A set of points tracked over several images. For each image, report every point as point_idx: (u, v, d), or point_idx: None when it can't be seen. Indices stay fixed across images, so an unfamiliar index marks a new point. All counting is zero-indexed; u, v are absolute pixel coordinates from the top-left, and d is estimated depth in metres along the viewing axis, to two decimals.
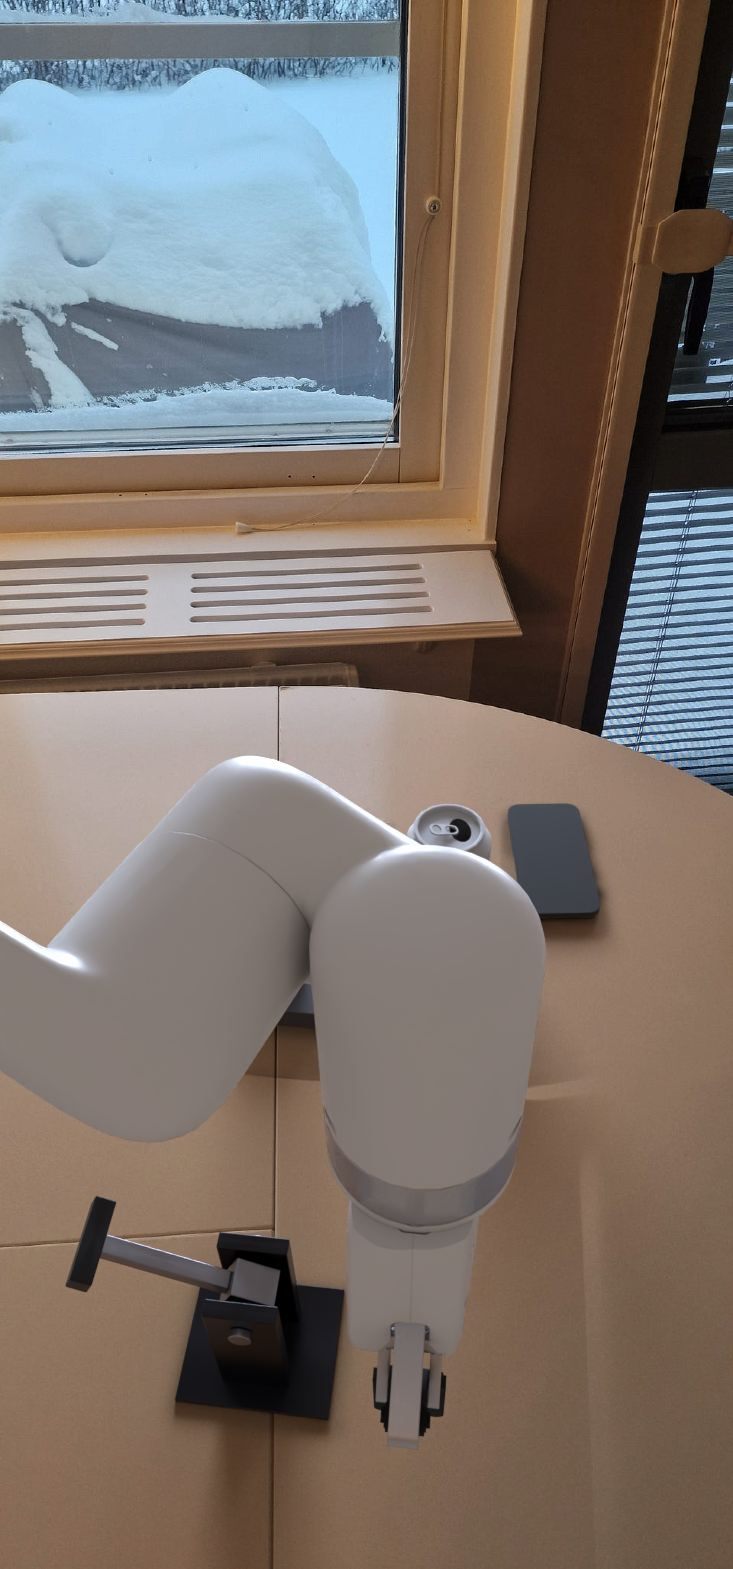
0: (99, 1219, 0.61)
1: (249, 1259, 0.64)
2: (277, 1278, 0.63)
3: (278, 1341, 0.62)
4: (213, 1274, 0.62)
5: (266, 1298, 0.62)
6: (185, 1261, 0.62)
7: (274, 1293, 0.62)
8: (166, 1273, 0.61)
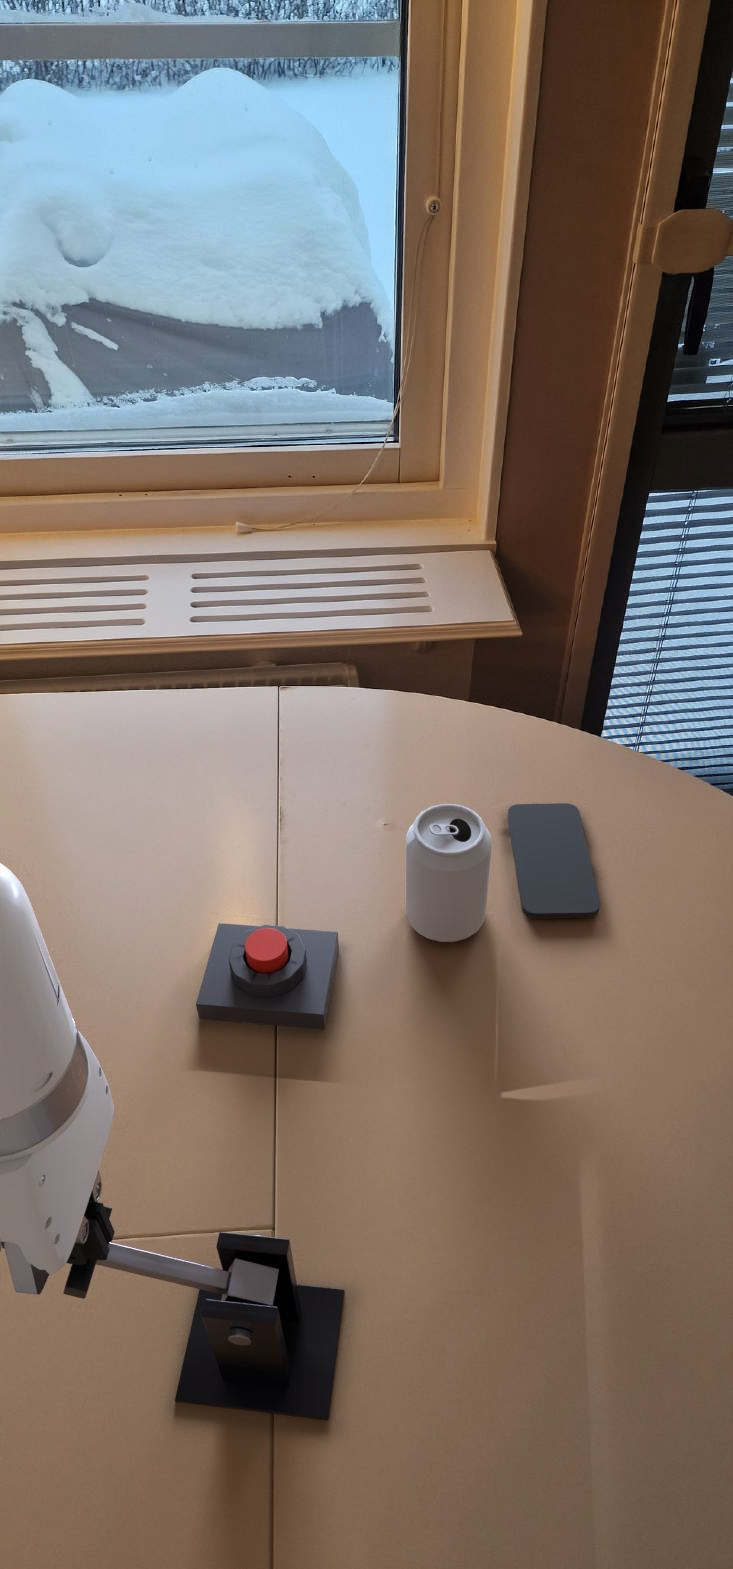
0: None
1: (249, 1259, 0.64)
2: (276, 1277, 0.63)
3: (278, 1341, 0.62)
4: (211, 1275, 0.62)
5: (264, 1297, 0.62)
6: (183, 1263, 0.62)
7: (273, 1292, 0.62)
8: (164, 1276, 0.62)
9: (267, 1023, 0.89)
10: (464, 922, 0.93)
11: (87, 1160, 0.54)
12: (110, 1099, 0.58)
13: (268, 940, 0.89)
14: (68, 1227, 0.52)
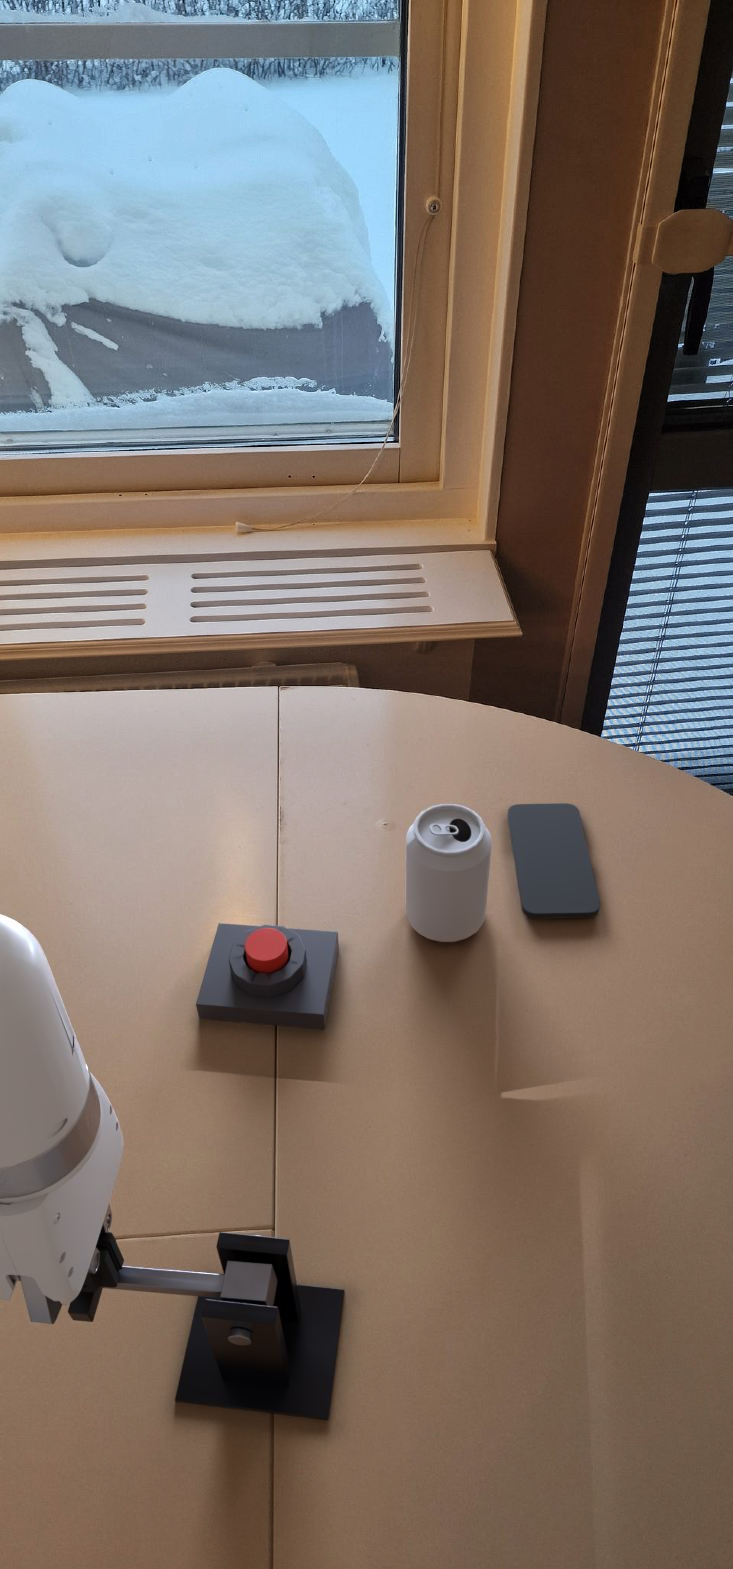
0: None
1: (249, 1259, 0.64)
2: (269, 1272, 0.62)
3: (278, 1341, 0.62)
4: (208, 1281, 0.63)
5: (257, 1294, 0.62)
6: (180, 1274, 0.63)
7: (265, 1287, 0.62)
8: (163, 1289, 0.63)
9: (267, 1023, 0.89)
10: (464, 922, 0.93)
11: (99, 1195, 0.56)
12: (120, 1134, 0.60)
13: (268, 940, 0.89)
14: (81, 1260, 0.55)
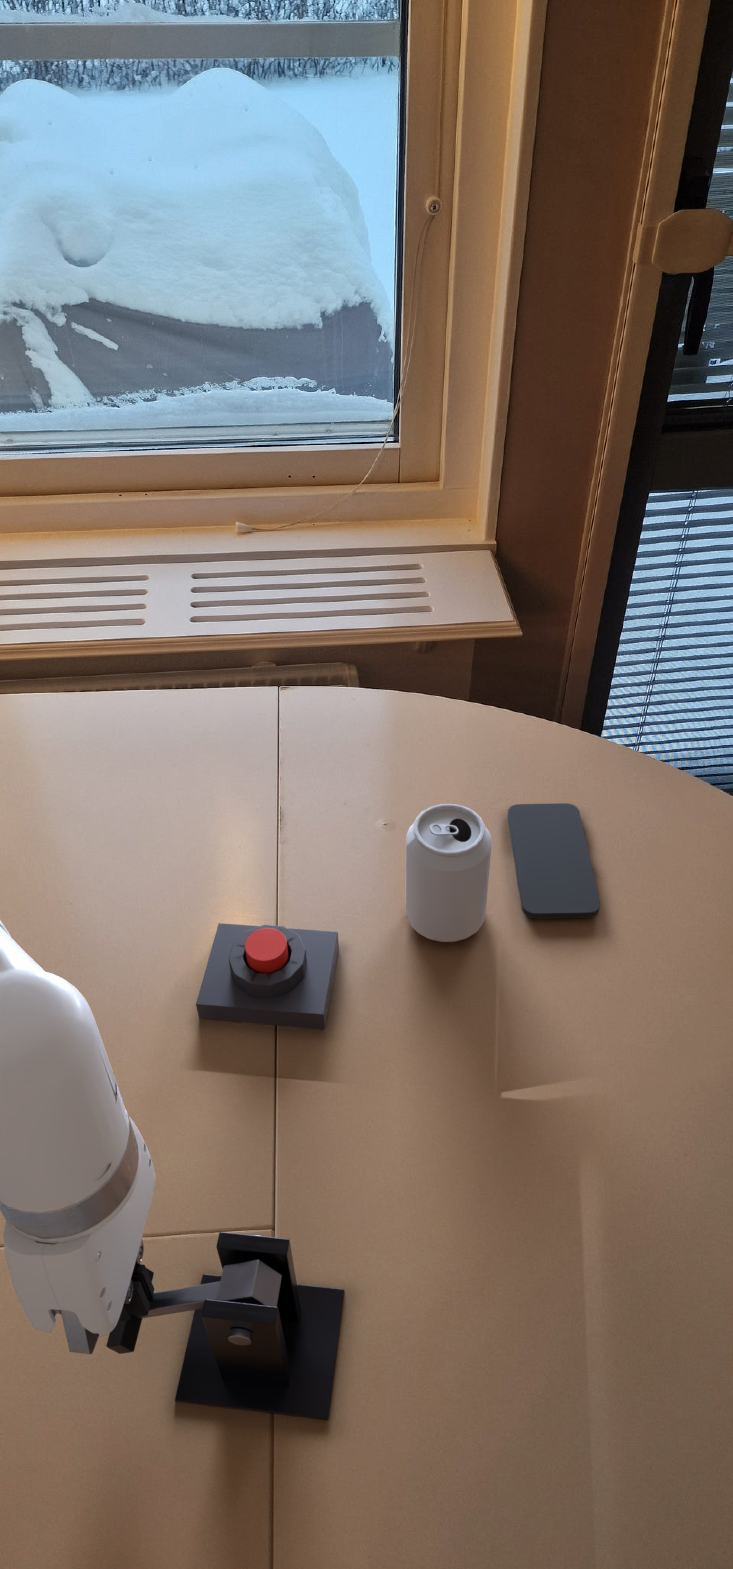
0: None
1: (249, 1259, 0.64)
2: (255, 1268, 0.62)
3: (278, 1341, 0.62)
4: (213, 1290, 0.64)
5: (245, 1291, 0.61)
6: (192, 1289, 0.65)
7: (252, 1283, 0.62)
8: (181, 1307, 0.65)
9: (267, 1023, 0.89)
10: (464, 922, 0.93)
11: (134, 1231, 0.59)
12: (152, 1170, 0.63)
13: (268, 940, 0.89)
14: (118, 1294, 0.57)
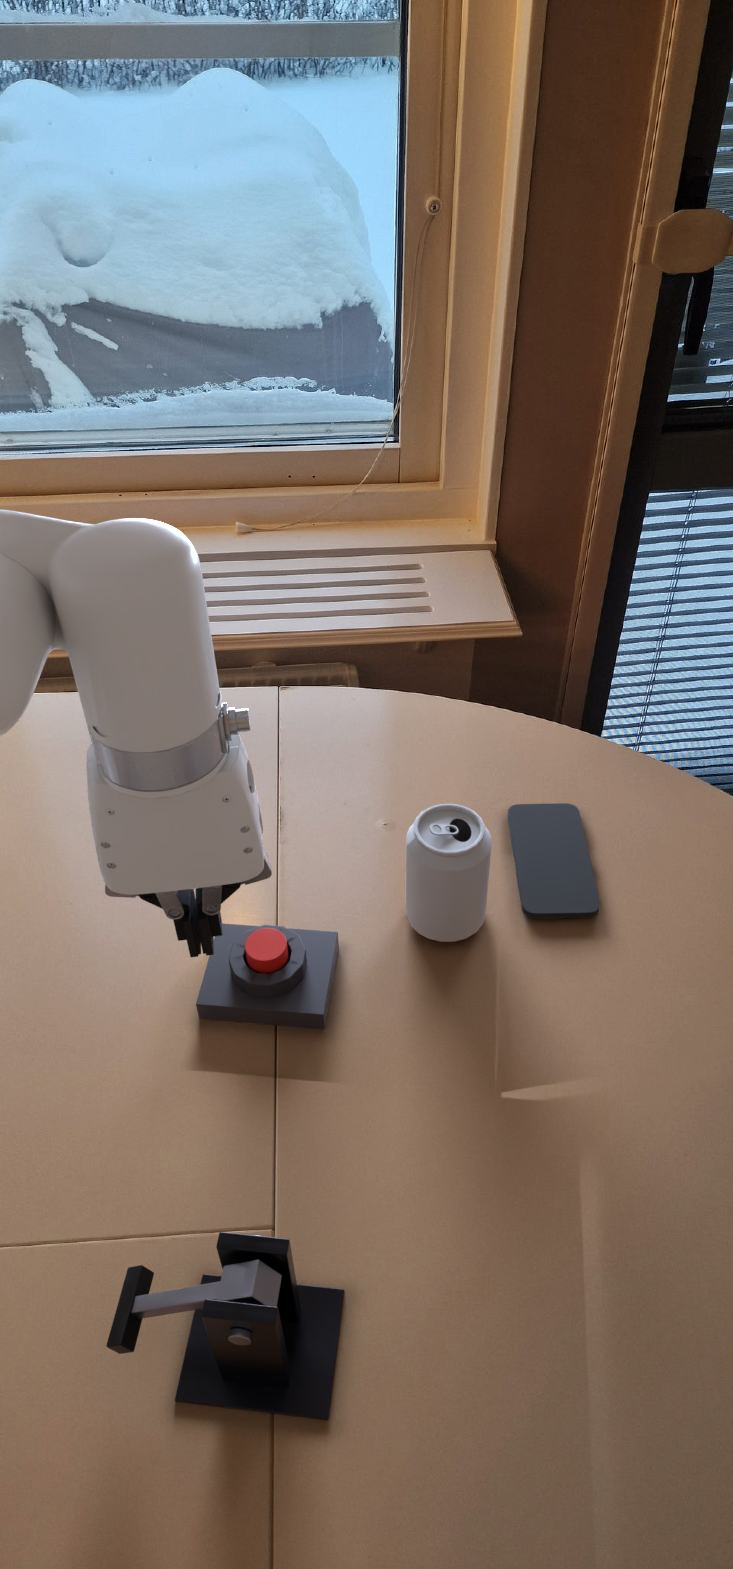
0: (128, 1286, 0.68)
1: (249, 1259, 0.64)
2: (255, 1268, 0.62)
3: (278, 1341, 0.62)
4: (213, 1290, 0.64)
5: (245, 1291, 0.61)
6: (192, 1289, 0.65)
7: (252, 1283, 0.62)
8: (181, 1307, 0.65)
9: (267, 1023, 0.89)
10: (464, 922, 0.93)
11: (178, 859, 0.62)
12: (251, 862, 0.64)
13: (268, 940, 0.89)
14: (130, 874, 0.63)
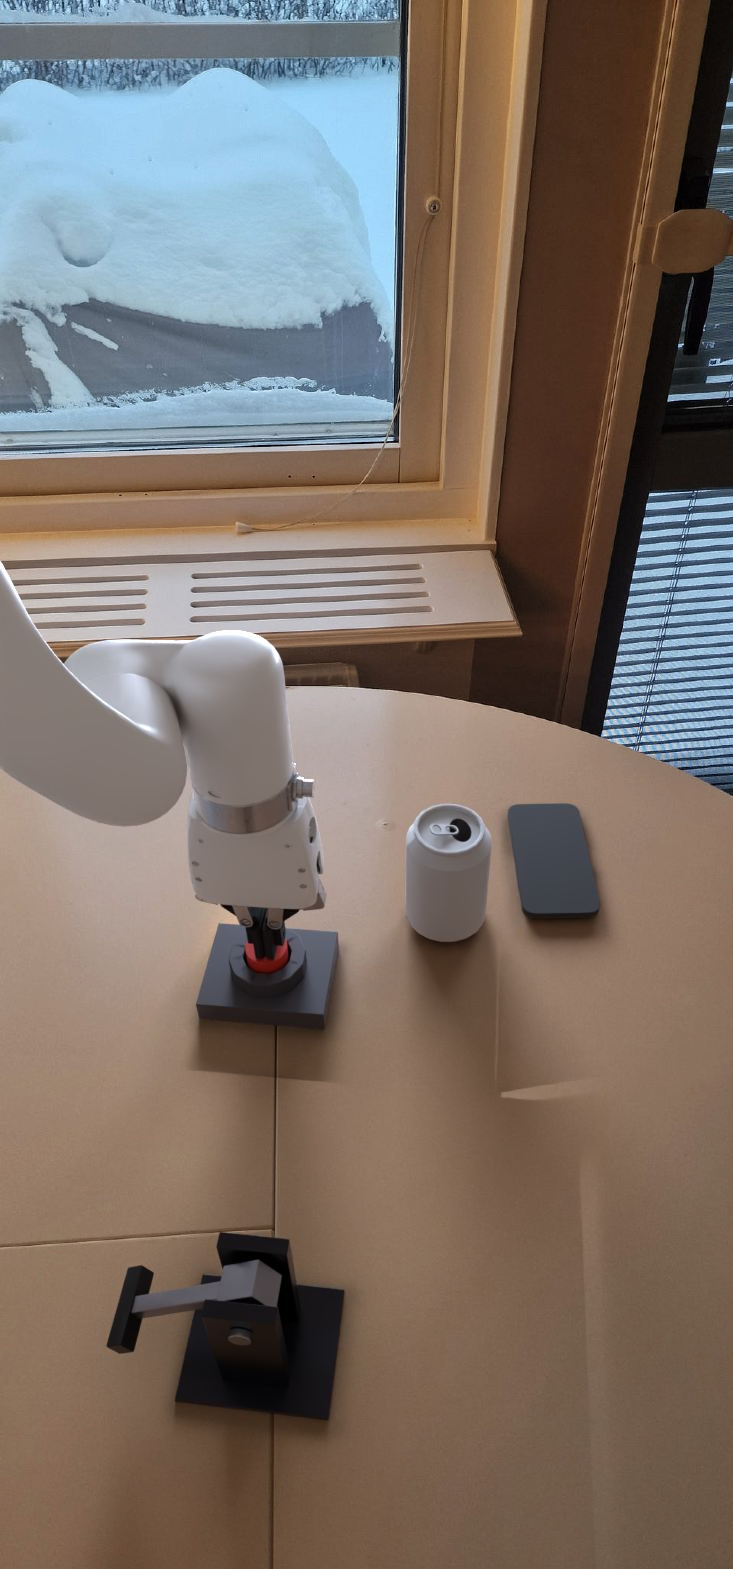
0: (128, 1286, 0.68)
1: (249, 1259, 0.64)
2: (255, 1268, 0.62)
3: (278, 1341, 0.62)
4: (213, 1290, 0.64)
5: (245, 1291, 0.61)
6: (192, 1289, 0.65)
7: (252, 1283, 0.62)
8: (181, 1307, 0.65)
9: (267, 1023, 0.89)
10: (464, 922, 0.93)
11: (249, 884, 0.80)
12: (305, 895, 0.81)
13: None
14: (212, 888, 0.81)
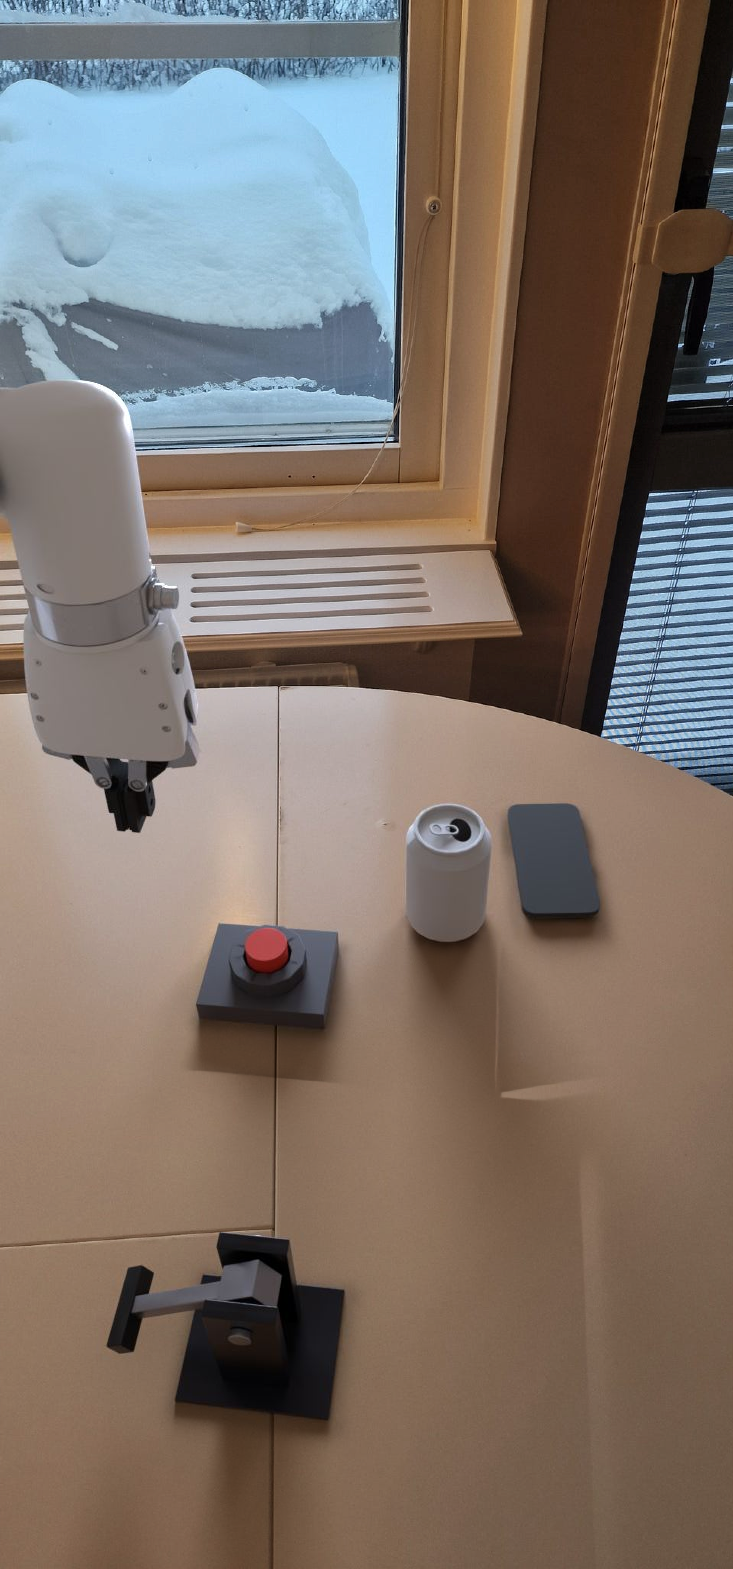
0: (128, 1286, 0.68)
1: (249, 1259, 0.64)
2: (255, 1268, 0.62)
3: (278, 1341, 0.62)
4: (213, 1290, 0.64)
5: (245, 1291, 0.61)
6: (192, 1289, 0.65)
7: (252, 1283, 0.62)
8: (181, 1307, 0.65)
9: (267, 1023, 0.89)
10: (464, 922, 0.93)
11: (100, 724, 0.66)
12: (170, 742, 0.67)
13: (268, 940, 0.89)
14: (57, 730, 0.67)
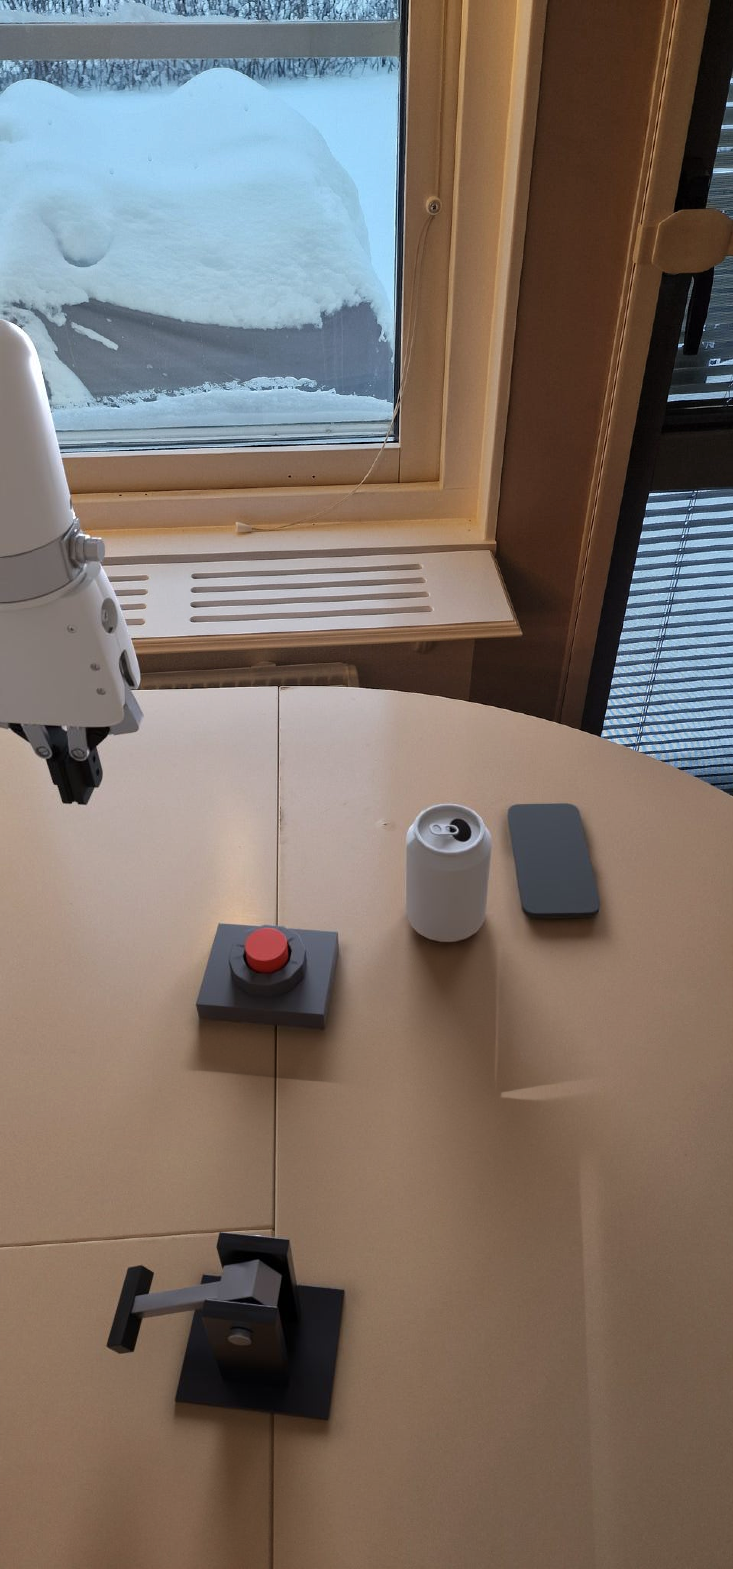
0: (128, 1286, 0.68)
1: (249, 1259, 0.64)
2: (255, 1268, 0.62)
3: (278, 1341, 0.62)
4: (213, 1290, 0.64)
5: (245, 1291, 0.61)
6: (192, 1289, 0.65)
7: (252, 1283, 0.62)
8: (181, 1307, 0.65)
9: (267, 1023, 0.89)
10: (464, 922, 0.93)
11: (31, 688, 0.62)
12: (106, 706, 0.63)
13: (268, 940, 0.89)
14: None
